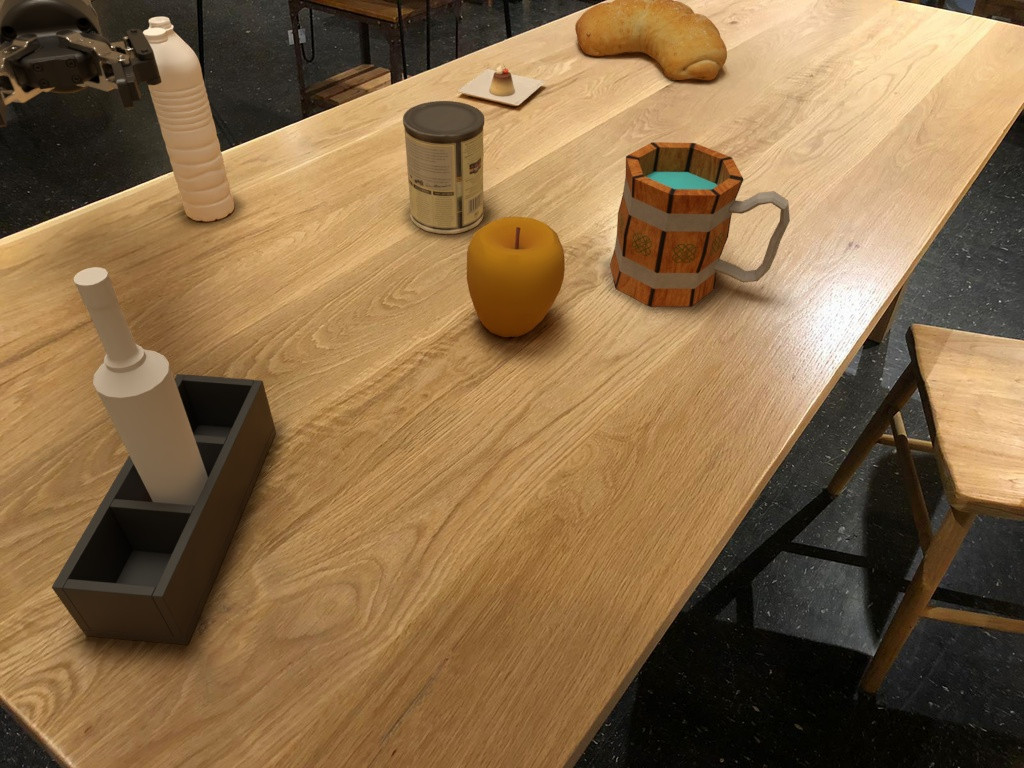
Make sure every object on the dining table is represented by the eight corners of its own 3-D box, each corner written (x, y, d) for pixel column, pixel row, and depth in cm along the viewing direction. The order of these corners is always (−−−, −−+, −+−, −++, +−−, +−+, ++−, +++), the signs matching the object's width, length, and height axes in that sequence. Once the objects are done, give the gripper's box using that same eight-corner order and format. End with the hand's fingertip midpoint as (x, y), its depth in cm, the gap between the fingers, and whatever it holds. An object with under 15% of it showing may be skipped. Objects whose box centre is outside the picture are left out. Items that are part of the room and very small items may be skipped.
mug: (595, 293, 94) (610, 182, 84) (622, 238, 103) (639, 132, 93) (757, 332, 89) (794, 220, 79) (770, 270, 99) (804, 163, 88)
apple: (553, 360, 85) (562, 263, 76) (457, 348, 86) (455, 251, 77) (564, 301, 92) (573, 207, 84) (476, 290, 93) (476, 196, 85)
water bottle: (187, 200, 107) (132, 10, 90) (236, 196, 108) (190, 8, 91) (182, 233, 101) (121, 36, 84) (233, 229, 102) (184, 34, 85)
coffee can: (418, 193, 110) (412, 97, 101) (488, 199, 110) (490, 103, 100) (401, 231, 103) (394, 131, 93) (477, 238, 102) (477, 138, 92)
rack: (85, 636, 59) (51, 587, 54) (196, 425, 76) (177, 373, 71) (187, 645, 59) (162, 597, 54) (276, 431, 75) (262, 380, 71)
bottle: (214, 535, 65) (120, 299, 48) (151, 538, 65) (33, 301, 47) (226, 487, 69) (143, 253, 52) (167, 490, 68) (63, 254, 51)
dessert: (545, 87, 140) (547, 60, 136) (518, 111, 132) (519, 83, 128) (487, 74, 143) (487, 48, 140) (456, 97, 135) (456, 70, 132)
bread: (746, 61, 152) (758, 7, 145) (700, 91, 140) (712, 35, 134) (608, 23, 166) (614, -27, 159) (556, 48, 154) (560, -5, 147)
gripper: (153, 63, 70) (179, 137, 60) (-23, 86, 65) (-28, 171, 55) (127, -26, 65) (151, 38, 54) (-66, -9, 60) (-81, 65, 50)
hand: (61, 104), depth 55 cm, fingers open, 8 cm apart
